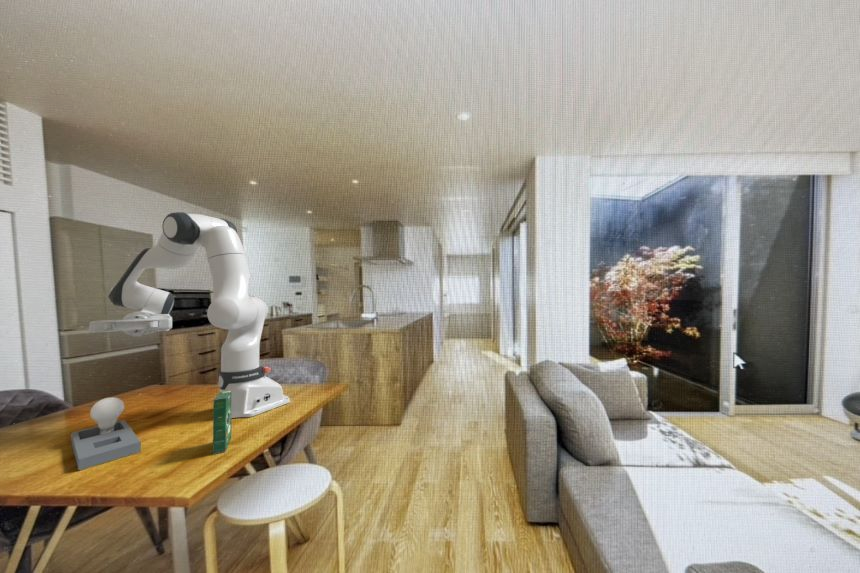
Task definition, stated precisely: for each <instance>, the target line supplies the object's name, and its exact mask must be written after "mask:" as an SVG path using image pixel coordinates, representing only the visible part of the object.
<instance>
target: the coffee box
mask: <svg viewBox="0 0 860 573" xmlns="http://www.w3.org/2000/svg"><path fill="white" fill-rule="evenodd" d="M212 401H213V404H212V406H213V407H212V409H213V411H212V412H213V414H212V416H213V417H212V418H213V419H212V455H216V454H222V453H224V452H226V451H227V449H228V446H229V445H230V442H231V439H232V418H231V391H223V392H220V391H219V393H218V394H217V395H216V396H215V397H214V398H213V400H212Z"/></svg>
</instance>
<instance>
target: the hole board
mask: <svg viewBox="0 0 860 573" xmlns="http://www.w3.org/2000/svg"><path fill="white" fill-rule="evenodd" d="M70 435H71V438H70V439H71V446H72V451H73V454H74V459H75V462H76V466H77V470H80V471H83V470H86V469H85V468H87V469H90V468H92V467H91V466H93V467H96V466H99V465H98V464H100V465H103V464H105V462H106V463H109V462H108V461H110V462H113V461H115V459H116V460H119V459H123V458H125V457H128V456H129V457H130V456H133V455H135V453H136V454H138V453H141V452H142V441H141V440H140V438H139V437H138V436H137V435H136V433H135V432H134V431H133V430H132V428H131V427H130V425H129V424H128V423H127V422H126V420H124V419H122V420H119V421H116V424H115V425H114V431H113V432H109V433H105V434H101V435H100V429H99V427H98V425H97V426H92V427H90V428H85V429H80V430H76V431H72V432H71V434H70ZM112 460H113V461H112ZM102 463H103V464H102ZM95 465H96V466H95ZM89 467H90V468H89ZM82 469H83V470H82Z"/></svg>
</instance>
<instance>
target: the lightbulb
mask: <svg viewBox="0 0 860 573" xmlns="http://www.w3.org/2000/svg"><path fill="white" fill-rule="evenodd" d="M124 409H125V403H124V401H123V400H121V399H120V398H118V397H113V396H112V397H105V398H102V399H100V400H99V401H97V402H95V403H94V404H93V406H92V407H91V409H90V411H89V413H90V415H89V416H90V417H91V419H92V420H93V421H94V422H95V423H96V424H97V426H98V427H99V429H100V435H101V434H105V433H109V432H113V431H114V425H115V424H116V422H118V421H117V420H118V418H119V417H120V416H121V415H122V413H123V411H124Z"/></svg>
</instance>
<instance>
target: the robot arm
mask: <svg viewBox="0 0 860 573" xmlns="http://www.w3.org/2000/svg"><path fill="white" fill-rule="evenodd" d="M199 247H204V249H205V250H204V251H205V254H206V259H207V262H208V267H209V271H210V275H211V279H212V299H211V303H210V304H209V306H208V308H207V310H206V316H207V319H208V321H209V323H210V324H211V325H212V326H214V327H217V328H220V329H223V330H228V331H227V336H226V338H225V341H224V342H223V344H222V346H221V349H220V355H221V357H220V359H221V360H220V371H219V373H218V374H219V375H218V376H219V377H218V387H219V393H220V392H223V391H231V419H235V418H250V417H251V418H252V417H255V416H257V415H260V414H263V413H266V412H269V411H270V410H273V409H276V408H279V407H281V406H284V405H287V404H289V403H291V398H290V397H289V396H288V395H285V394H284V391H283V387H282V385H281V384H280V383H278V382H276V381H275V380H274V379H272V378H270V377H268V376H266V375H265V374H270V372H271V369H272V368H270V367H269V366H264V367H263V366H261V365H260V346H261V338H262V333H263V329H264V324H265V320H266V319H267V317H268V313H269V307H268V305H267V304H266V302H265V301H264V300H262V299H261V298H259V297H257V296H250V293H249V284H250V283H249V282H250V280H251V277H252V276H251V271H250V268H249V263H248V260H247V256H246V252H245V248H244V246H243V243H242V241H241V239H240V236H239V234H238V229H237V226H236V225H235V224H234V222H232V221H230V220H228V219H226V218H225V219H224V218H219V217H218V218H217V217H213V216H210V215H209V216H208V215H205V214H200V213H199V214H198V213H186V212H184V211H182V212H181V211H180V212H179V211H178V212H177V211H176V212H170V213H168V214H166V216H165V217H164V219H163V221H162V233H161V234H160V236H159V239H158V241H157V243H156V244H155V245H154V246H153V247H146V248H144V249H143V250H141V251H140V252H139V253H138V254H137V256H135V258H134V260H132V262H131V263H130V264H129V266H128V267H127V269H126V270H125V271H124V273H123V275H122V276H121V278H120V279H119V280H118V281H117V283H116V284H114V285H113V286H112V287H111V289H110V291H109V293H108V296H107V297H108V299H109V301H110V302H111V303H112V305H114V306H115V307H120V308H121V307H122V308H129V309H132V310H135V311H134V312H131V313H128V314H126V315H125V316H123V318H122V319H107V320H106V319H103V320H93V321H90V322H89V326H88V327H89V328H88V329H89V333H107V332H108V333H112V332H123V333H124V334H126V335H128V336H131V337H141V336H144V335H149V334H150V335H151V334H153V333H162V332H168V331H170V330H172V328H173V317H172V316H171V313H172V311H173V308H174V306H175V302H176V300H175V297H174V295H173V293H172V292H169V291H167V290H162V289H159V288H156V287H152V286H148V285H145V284H142V283H140V282H139V281H138V279H140V277H141V275H142V274H143V272H144V271H145V270H146V269H166V270H173V269H174V270H175V269H180V268H183V267H186V266H188V264H190V263H191V262H192V260H193V258H194V257H195V254H196V253H197V249H198V248H199ZM136 310H137V311H136Z"/></svg>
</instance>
